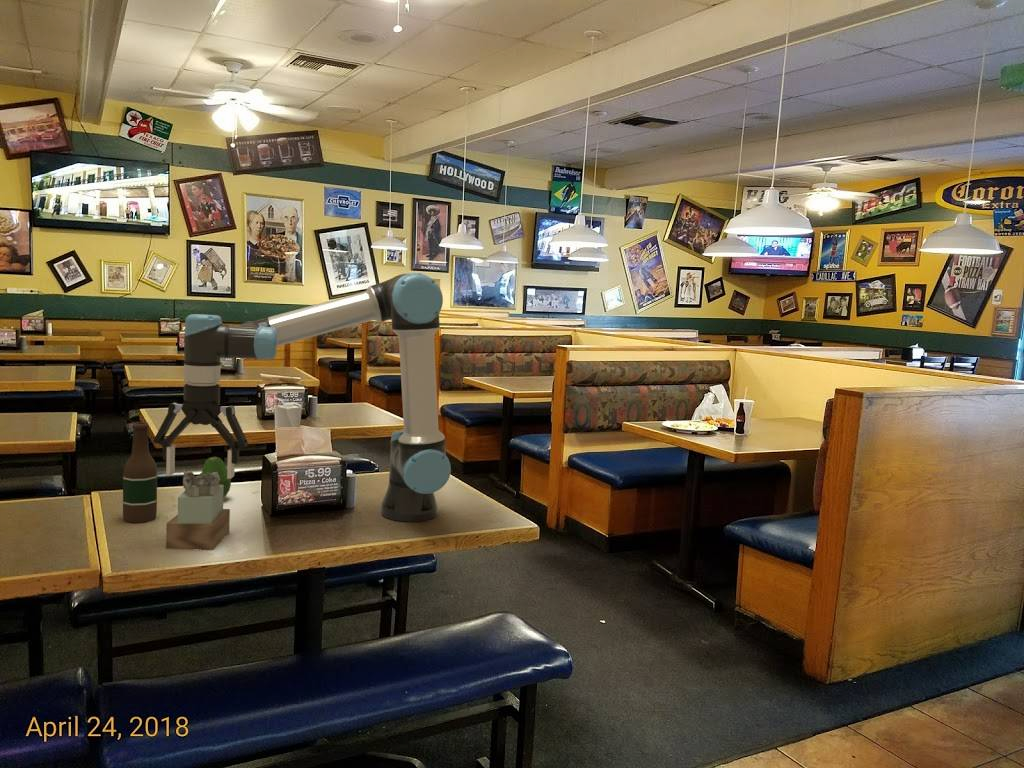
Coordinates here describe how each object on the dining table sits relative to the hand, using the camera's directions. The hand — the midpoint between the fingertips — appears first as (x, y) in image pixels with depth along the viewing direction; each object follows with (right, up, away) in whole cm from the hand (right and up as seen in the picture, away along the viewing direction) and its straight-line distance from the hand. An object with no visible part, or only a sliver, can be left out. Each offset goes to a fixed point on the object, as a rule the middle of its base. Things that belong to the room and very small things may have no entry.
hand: (200, 475), depth 164 cm
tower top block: (0, -9, +1) cm, 9 cm away
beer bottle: (-21, -12, +13) cm, 28 cm away
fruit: (-10, -11, +32) cm, 35 cm away
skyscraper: (+6, -11, +41) cm, 43 cm away
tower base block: (-1, -15, +2) cm, 15 cm away
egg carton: (0, -4, 0) cm, 4 cm away
